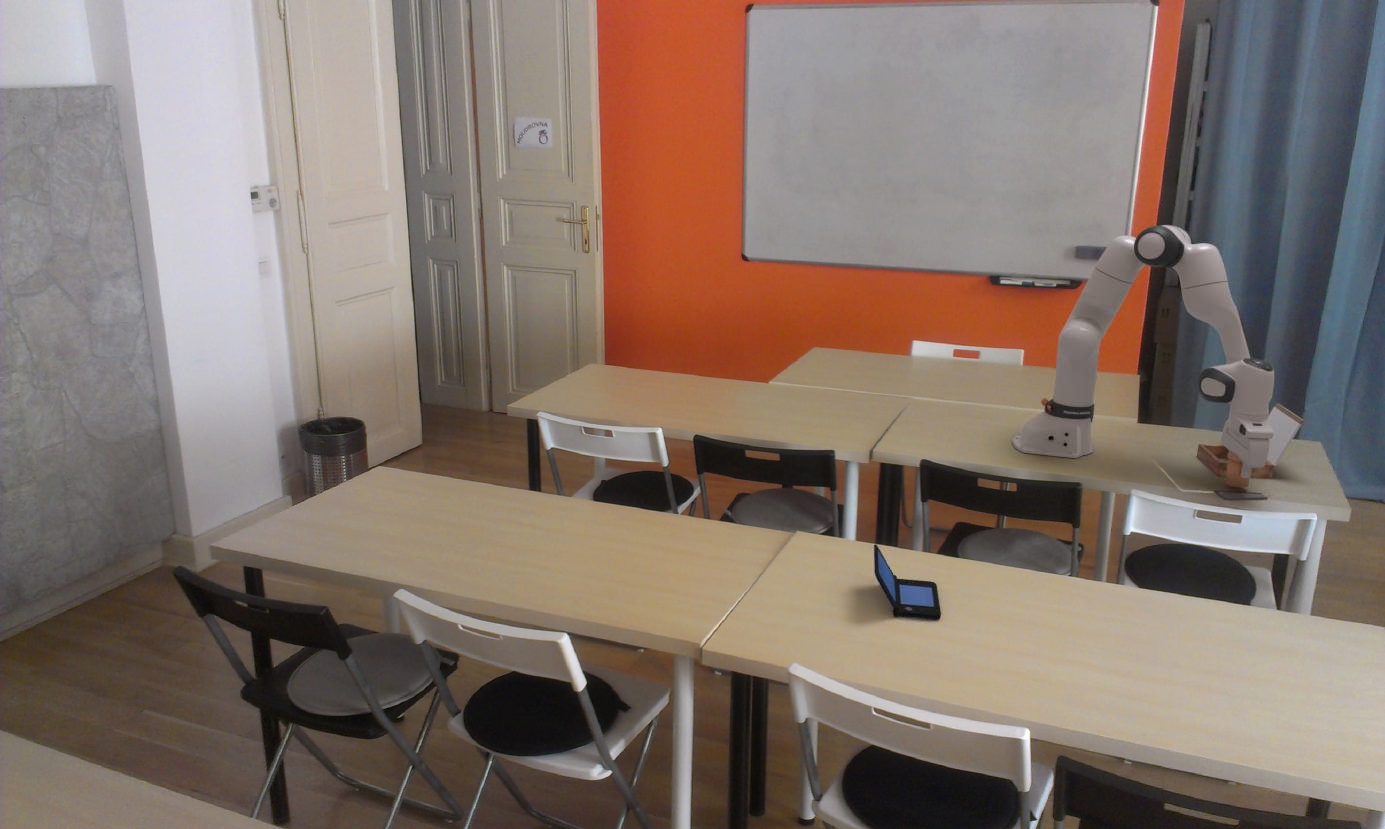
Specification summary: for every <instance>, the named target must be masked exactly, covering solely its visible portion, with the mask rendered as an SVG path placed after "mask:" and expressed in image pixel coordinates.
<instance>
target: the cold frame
mask: <svg viewBox="0 0 1385 829" xmlns="http://www.w3.org/2000/svg"><path fill="white" fill-rule="evenodd" d="M1228 452H1229V450H1228V449H1227V448H1226V447H1225V446H1224V445H1222V444H1208V443H1207V444H1205V443H1202V444H1201V443H1198V447H1197V452H1196V457H1197V458H1198V460H1200V462H1202V463H1203V464H1204V465H1205V466H1206V467H1207V468H1208V469H1209V470H1210V471H1211V472H1213V474H1214V475H1216V476H1217V477H1226V472H1227V467H1228V461H1229V459H1228V458H1227V457H1228ZM1274 467H1275V466H1274V465H1273V464H1271V463H1270V462H1269V461H1268V460H1266V463H1265V465H1264V467H1263V468H1252V471H1251V476H1250V479H1251V478H1253V479H1269V480H1270V479H1271V480H1272V478H1273V473H1274V472H1273V471H1274Z"/></svg>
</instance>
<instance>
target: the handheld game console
mask: <svg viewBox="0 0 1385 829" xmlns="http://www.w3.org/2000/svg"><path fill="white" fill-rule="evenodd" d="M873 558H874V559H873V560H874V561H873V564H874V566H873V567H874V570H873V571H874V576H875V578H876V580H877V582H878V584H879V586H880V587H881V589H882V591H883V592H884V595H885V596H886V598H887V600H888V602H889V603H890V605H891V607H892V616H893V617H895V618H896V617H900V618H902V617H903V618H911V619H912V618H913V619H919V620H920V619H921V620H931V621H932V620H933V621H934V620H936V621H937V620H939V619H941V616H942V612H941V611H942V610H941V605H940V600H939V592H938V586H937V583H936V582H934V581H929V580H918V579H905V578H898V577H897V575H896V574H894V573H893V571H892V569H891V567H890V566H889V564H888V562H887V560H886V558H885V557H884V555H883V552H882V551H881V549H880V548H879V546H878V544H874V545H873Z"/></svg>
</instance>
